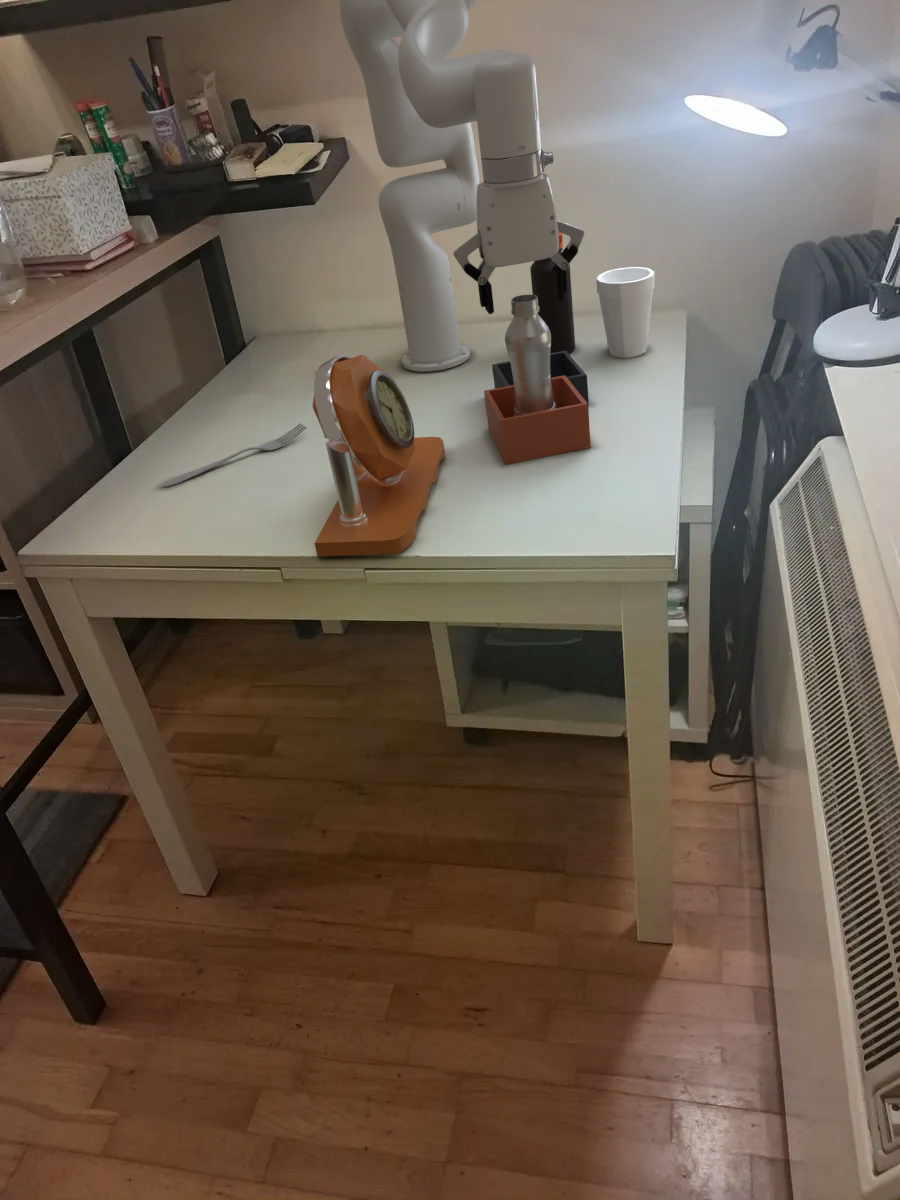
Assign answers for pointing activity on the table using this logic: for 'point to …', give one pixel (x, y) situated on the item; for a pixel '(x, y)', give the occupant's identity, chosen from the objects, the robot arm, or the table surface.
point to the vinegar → (554, 304)
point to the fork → (268, 446)
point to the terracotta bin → (538, 424)
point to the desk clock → (371, 459)
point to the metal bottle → (529, 357)
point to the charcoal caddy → (558, 367)
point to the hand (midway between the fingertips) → (524, 304)
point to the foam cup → (626, 309)
